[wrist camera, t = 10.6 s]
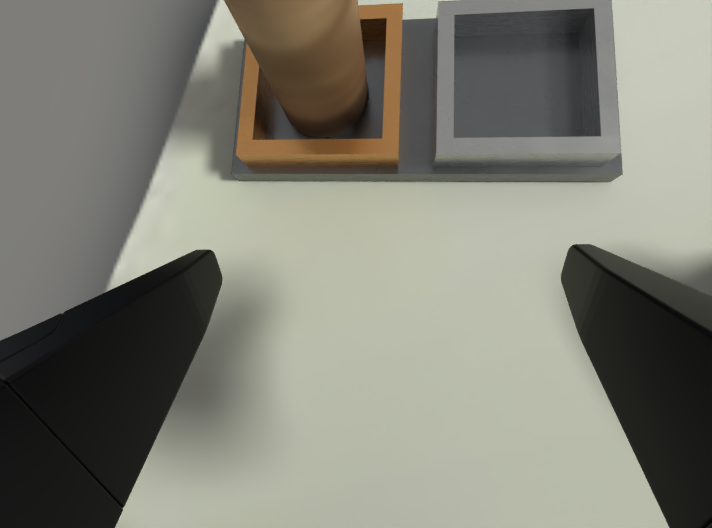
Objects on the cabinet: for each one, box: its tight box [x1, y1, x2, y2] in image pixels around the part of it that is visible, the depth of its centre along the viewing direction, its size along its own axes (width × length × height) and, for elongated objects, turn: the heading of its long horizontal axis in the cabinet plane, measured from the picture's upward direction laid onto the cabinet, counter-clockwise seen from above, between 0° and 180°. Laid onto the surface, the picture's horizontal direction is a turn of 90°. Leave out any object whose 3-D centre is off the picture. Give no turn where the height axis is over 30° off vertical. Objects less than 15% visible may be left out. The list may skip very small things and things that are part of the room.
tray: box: [231, 0, 622, 182], centre depth 19 cm, size 20×9×2 cm, turn 88°
